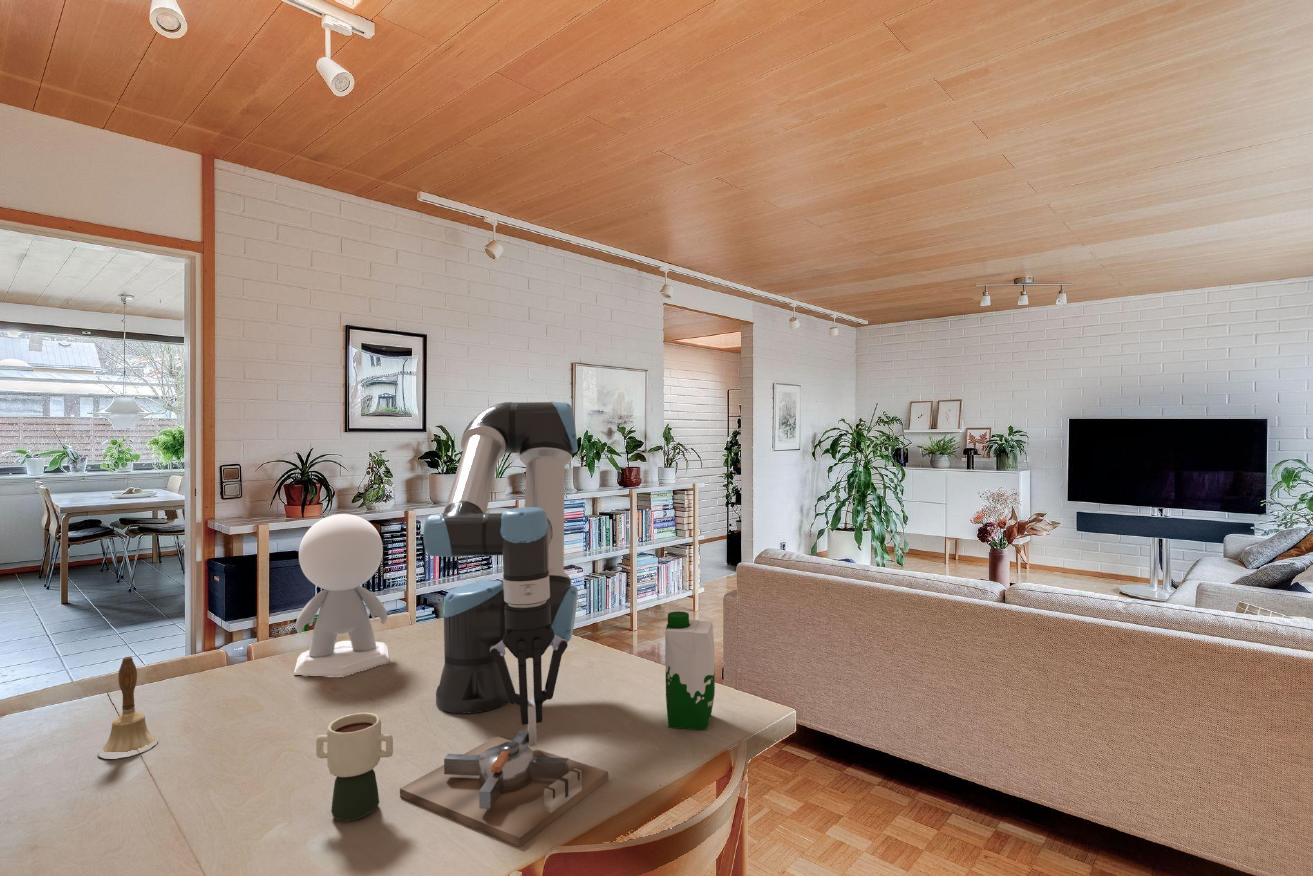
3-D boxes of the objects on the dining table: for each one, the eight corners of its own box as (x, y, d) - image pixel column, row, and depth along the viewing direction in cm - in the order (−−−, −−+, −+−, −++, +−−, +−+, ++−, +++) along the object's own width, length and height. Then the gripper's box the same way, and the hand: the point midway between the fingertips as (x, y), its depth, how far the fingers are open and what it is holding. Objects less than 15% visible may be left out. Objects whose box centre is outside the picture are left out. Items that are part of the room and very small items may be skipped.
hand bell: (169, 741, 120) (168, 652, 120) (119, 763, 112) (117, 668, 112) (137, 735, 123) (135, 647, 123) (86, 756, 115) (84, 662, 115)
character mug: (402, 798, 101) (401, 711, 101) (384, 826, 94) (382, 733, 94) (329, 799, 101) (327, 712, 101) (305, 827, 94) (303, 734, 94)
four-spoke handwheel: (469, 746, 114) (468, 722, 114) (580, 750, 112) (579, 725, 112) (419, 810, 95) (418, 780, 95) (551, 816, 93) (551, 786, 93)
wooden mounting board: (400, 796, 101) (399, 768, 101) (496, 743, 119) (496, 719, 118) (519, 847, 89) (519, 815, 89) (608, 779, 106) (608, 752, 106)
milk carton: (671, 709, 132) (670, 607, 132) (717, 713, 130) (716, 609, 130) (662, 729, 123) (661, 620, 123) (711, 733, 122) (710, 622, 121)
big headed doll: (386, 642, 176) (384, 507, 175) (390, 671, 155) (388, 518, 154) (299, 653, 168) (297, 512, 167) (291, 685, 147) (288, 523, 146)
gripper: (487, 611, 107) (493, 758, 108) (568, 603, 110) (573, 746, 111) (487, 599, 114) (492, 737, 115) (563, 592, 117) (567, 726, 118)
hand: (532, 741), depth 113 cm, fingers closed
